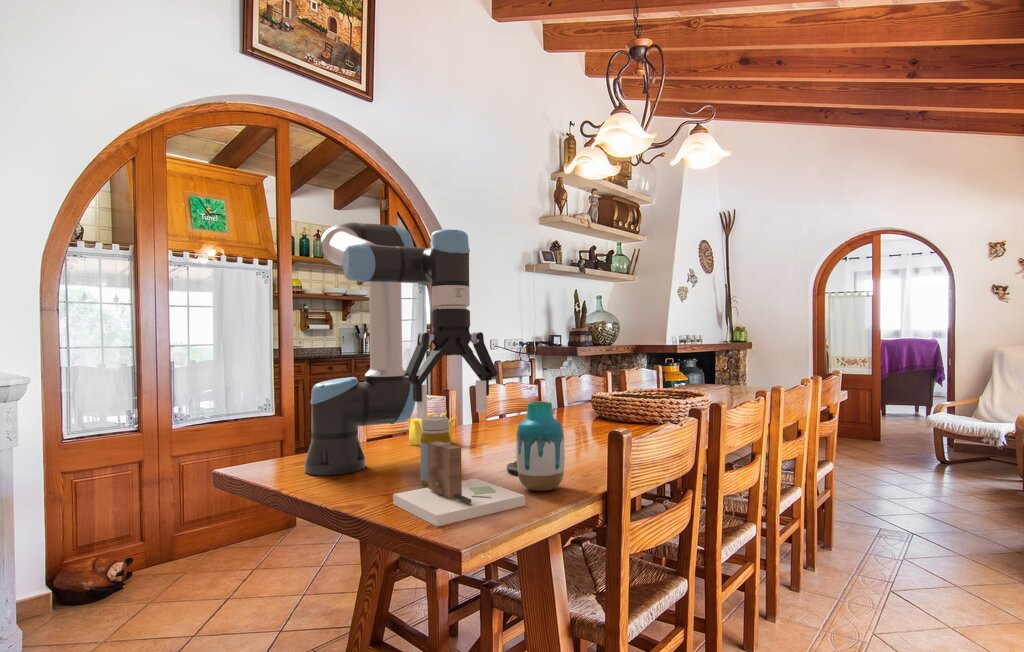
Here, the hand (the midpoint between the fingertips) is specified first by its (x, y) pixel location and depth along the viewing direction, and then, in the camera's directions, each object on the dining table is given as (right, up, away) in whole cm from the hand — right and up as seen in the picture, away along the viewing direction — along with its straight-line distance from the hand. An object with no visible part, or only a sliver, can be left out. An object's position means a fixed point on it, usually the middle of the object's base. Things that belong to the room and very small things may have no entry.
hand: (452, 415), depth 114 cm
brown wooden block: (0, -16, +1) cm, 16 cm away
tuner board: (+1, -18, +2) cm, 18 cm away
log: (+15, -19, +30) cm, 39 cm away
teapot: (-14, -20, +69) cm, 74 cm away
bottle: (-6, -19, +20) cm, 28 cm away
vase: (+18, -18, +12) cm, 29 cm away
